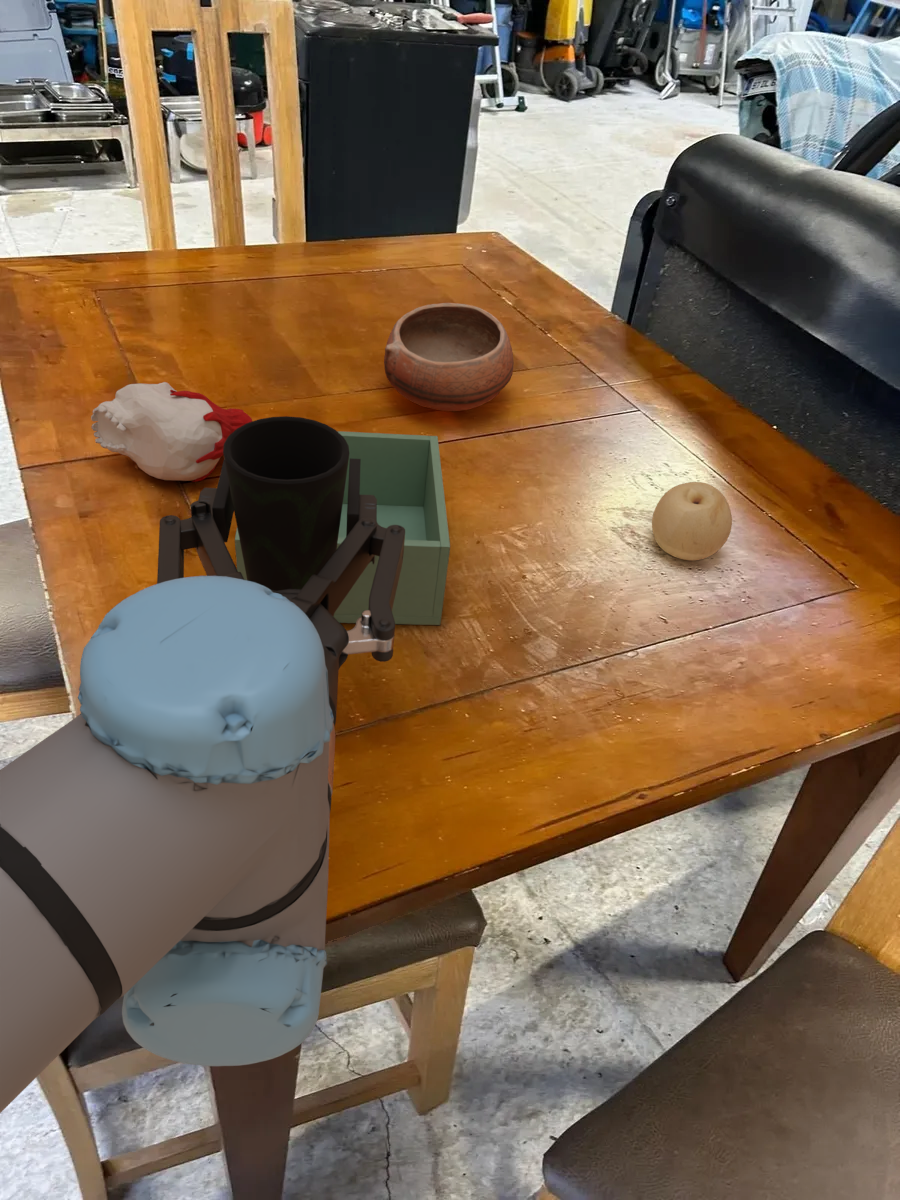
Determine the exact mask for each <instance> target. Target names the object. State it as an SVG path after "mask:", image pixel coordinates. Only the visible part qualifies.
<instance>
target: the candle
mask: <svg viewBox="0 0 900 1200" xmlns="http://www.w3.org/2000/svg"><path fill="white" fill-rule="evenodd" d="M90 420H91V422H94V423H92V425H91V430H92V432H93V437H95V439H94V442H95V444H99V445H100V447H101V448H102V449H106V450H108V451H110V452H112V453H118V454H120V455H122V456H126V457H129V459H131V461H133V462H134V463H135V464H136V465H137V467H138V468H139V469H140V470H142V471H143V472H144V473H145V474H147V475H149V476H151V477H154V478H155V479H158V480H164V481H183V482H187V481H188V482H189V481H191V483H194V482H195V483H196V482H201V481H203V480H205V479H206V478H207V477H209V476H210V475H211V474H212V473H213V472H214V470H215V469H216V467H217V465H218V463H219V462H220V460H221V458H222V457H224V454H223V448H224V443H225V441H226V439H227V438H228V436H229V435H230V434H232V433H233V432H234V431H235V430H236V429H237V428H239V427H241V426H243V425H245V424H247V423H249V422H252V421H253V418H252V417H251V416H250V415H249V414H248V413H246V412H245V410H243V409H241V408H232V407H231V408H227V409H226V408H223V407H221V406H219V405H217V404H216V403H215V402H214V401H212V400H210V398H209V397H208V396H206V395H205V394H203V393H200V392H193V391H190V390H178V391H177V390H175V388H173V387H172V386H171V385H170V383H168V382H166V381H163V382H159V383H131V384H130V383H129V384H127V385H125V386H123V387H122V388H119V389H118V390H116V392H115V398H113V399H112V400H108V401H107V400H106V401H103V402H101V403H99V404H98V406H96V407H95V408H93V410H92V415H91V416H90Z"/></svg>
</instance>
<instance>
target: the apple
mask: <svg viewBox="0 0 900 1200" xmlns="http://www.w3.org/2000/svg"><path fill="white" fill-rule="evenodd" d="M732 526H733V516H732V511H731V507H730V505H729V502H728V500H727V498H726V497H725V495H724V494H723V493H722V492H721V491H720V490H719V489H718V488H716V487H715V486H713V485H712V484H709V483H706V482H701V481H691V482H683V483H680V484H678V485H677V484H676V485H675V486H673V487H671V488H670V489H668V490H667V491H666V492H665V493H664V494H663V495H662V496H661V497H660V499H659V500H658V502H657V504H656V506H655V508H654V511H653V513H652V519H651V530H652V534H653V537H654V540H655V541H656V543H657V545H658V547H660V549H662V551H664V553H666V554H668V555H670V556H672V557H673V558H677V559H679V560H684V561H698V560H699V561H700V560H704V559H707V558H709V557H711V556H712V555H715V554H716V553H717V552H718V551H720V550H721V548H723V546H725V544H726V543H727V541H728V539H729V537H730V534H731V531H732Z"/></svg>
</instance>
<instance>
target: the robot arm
mask: <svg viewBox="0 0 900 1200" xmlns="http://www.w3.org/2000/svg"><path fill="white" fill-rule="evenodd" d="M360 464H361V459H353V458H350V463H349V483H348V503H347V532H346V538H345V539H344V540H343V542H342V543H341V544H340V546H339V547H338V548H337V550H336V551H335V552H334V554H333V555H332V556H331V558H330V559H329V560H328V562H327V563H326V564H325V566H324V567H323V568H322V570H321V571H320V572H319V573H318V575H312V576H311V577H310V579H309V580H308V581H307V583H306V584H305V585H304V587H303V588H302V589H287V590H279V591H274V590H270V589H269V588H267V587H265V586H263V585H260V584H258V583H255V582H251V581H247V580H244V578H243V576H242V574H241V572H238V571H237V565H236V564H235V562H234V560H233V558H232V556H231V554H230V551H229V549H228V547H227V545H226V543H228V541H229V536H230V531H231V527H232V522H233V517H234V514H235V513H234V507H233V502H232V497H231V491H230V486H229V481H228V476H227V470H226V465H225V460H224V459H223V461H222V465H221V470H220V473H219V478H218V482H217V486H216V487H203V488H202V490H201V491H200V492H199V496H198V499H197V500H194V501H193V502H192V503H191V504H190V514H191V517H188V518H184V519H180V517H179V516H177V515H173V514H169V515H165V516H163V517H161V518H160V520H159V529H158V530H159V531H158V553H157V575H156V577H157V578H156V584H153V585H150V586H148V587H145V588H143V589H141V590H138V591H137V592H135V593H133V594H131V595H129V596H127V597H126V598H124V599H123V600H121V601H120V602H118V603H117V604H116V605H114V607H112V608H111V609H110V610H109V611H108V612H107V613H106V614H105V615H104V617H103V619H102V621H101V622H100V623H99V624H98V628H96V630H95V631H94V633H93V634H92V635H91V637H90V638H89V640H88V642H87V643H86V644H85V645H84V647H83V650H82V654H81V658H80V665H79V678H80V684H79V687H78V694H77V695H78V696H77V700H78V701H79V704H80V707H79V712H80V714H78V715H77V716H76V717H74V718H73V719H71V720H70V721H69V722H67V723H66V724H65V725H63V726H61V727H59V729H57V730H55V731H54V732H53V733H51V734H50V735H48V736H47V737H45V738H44V739H42V740H41V741H40V742H39V743H37V744H35V745H34V746H32V747H31V748H29V749H28V750H27V751H25V752H24V753H22V754H21V755H19V756H18V757H17V758H15V759H13V760H12V761H10V762H9V763H8V764H6V765H5V766H4V767H2V768H0V1114H2V1112H3V1111H4V1110H5V1109H6V1108H7V1107H8V1106H10V1104H11V1103H12V1102H13V1101H15V1100H16V1099H17V1097H19V1095H20V1094H21V1093H22V1092H24V1090H25V1089H26V1088H28V1086H30V1084H31V1083H32V1082H34V1080H35V1079H36V1078H37V1077H38V1076H39V1075H40V1074H41V1073H42V1072H43V1071H44V1070H46V1068H47V1067H48V1066H49V1065H50V1064H51V1063H53V1062H54V1061H55V1059H57V1058H58V1057H59V1055H60V1054H62V1053H63V1052H64V1051H65V1049H66V1048H68V1046H70V1045H71V1043H73V1041H74V1040H75V1039H76V1038H78V1036H79V1035H80V1034H82V1033H83V1032H84V1030H86V1028H88V1026H90V1025H91V1024H92V1023H93V1022H94V1021H95V1020H97V1019H98V1017H101V1016H102V1015H104V1013H105V1012H106V1011H108V1010H109V1009H110V1008H111V1006H112V1005H113V1004H115V1003H116V1001H118V1000H120V999H122V998H123V999H122V1007H121V1015H122V1016H121V1018H122V1023H123V1026H124V1028H125V1030H126V1032H127V1034H128V1035H129V1036H130V1038H132V1040H133V1041H134V1042H135V1043H136V1044H138V1045H139V1046H140V1047H141V1048H143V1049H145V1050H146V1051H147V1052H149V1053H151V1054H153V1055H155V1056H158V1057H160V1058H163V1059H165V1060H169V1061H173V1062H177V1063H182V1064H186V1065H193V1066H201V1067H234V1066H235V1067H236V1066H240V1067H241V1066H247V1065H254V1064H257V1063H262V1062H266V1061H269V1060H273V1059H276V1058H278V1057H282V1056H283V1055H285V1054H287V1053H289V1052H291V1051H293V1050H294V1049H296V1048H297V1047H299V1046H300V1045H301V1044H302V1043H304V1041H305V1040H306V1039H307V1038H308V1037H309V1036H310V1035H311V1034H312V1032H313V1031H314V1029H315V1027H316V1024H317V1022H318V1019H319V1016H320V1015H319V1014H320V1007H321V1006H320V1005H321V996H322V987H323V977H324V968H325V967H326V966H327V965H328V961H327V960H328V959H327V958H328V957H327V955H328V953H327V950H326V932H327V931H326V930H327V914H328V913H327V912H328V911H327V909H328V890H329V863H330V862H329V861H330V823H331V822H330V819H331V817H330V815H331V810H332V796H333V791H334V790H333V789H334V771H335V755H336V754H335V752H336V750H335V749H336V729H335V726H336V722H337V711H338V709H337V708H338V693H339V692H338V691H339V690H338V689H339V686H338V685H339V670H340V668H341V667H342V665H343V664H344V663H345V662H346V661H347V659H348V656H349V655H356V654H364V653H371V656H372V658H373V659H374V660H376V661H377V662H381V663H382V662H384V663H385V662H389V661H390V660H392V658H393V657H394V646H395V645H394V644H395V633H396V632H395V631H396V624H395V621H394V617H393V614H392V608H393V604H394V599H395V595H396V590H397V586H398V581H399V577H400V572H401V568H402V563H403V554H404V542H405V529H404V527H402V526H400V525H390V526H389V527H387V528H384V527H381V526H380V525H379V524H378V523H377V499H376V498H375V496H374V495H360ZM191 549H195V551H196V553H197V556H198V558H199V561H200V563H201V566H202V568H203V570H204V572H205V574H206V575H195V576H187V577H185V550H191ZM375 555H376V556H379V560H378V564H377V568H376V572H375V576H374V580H373V584H372V588H371V591H370V596H369V607H368V610H365V611H363V612H362V616H361V617H359V618H358V619H357V620H356V623H355V625H354V627H352V629H349V630H348V629H346V628H345V627H344V625H342V623H339V622H338V621H337V620H336V619H335V618H334V617H333V616H334V613H335V611H336V610H337V609H338V607H339V606H340V604H341V603H342V601H343V600H344V598H345V597H346V596H347V594H348V593H349V591H350V590H351V588H352V587H353V586H354V584H355V583H356V581H357V580H358V578H359V577H360V575H361V574H362V573H363V571H364V570H365V568H366V567H367V565H368V564H369V563H370V562H371V561H372V562H373V563H372V564H374V563H375Z"/></svg>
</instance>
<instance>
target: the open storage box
mask: <svg viewBox="0 0 900 1200" xmlns="http://www.w3.org/2000/svg"><path fill="white" fill-rule="evenodd" d="M336 431H337V432H338V433H340V434H341V435H342V436H343V437H344V438H345V440H346V442H347V444H348V445H349V461H348V468H347V475H346V483H345V490H344V498H343V505H342V512H341V520H340V527H339V535H338V542H337V548H338V547H339V546H340V544H341V543H342V542H343V540H344V539H345V538H346V532H347V503H348V483H349V463H350V458H353V459H361V464H360V495H374V496H375V498H376V499H377V523H378V524H379V525H380V526H381V527H384V528H387V527H389V526H390V525H400V526H402V527H404V529H405V542H404V554H403V563H402V568H401V572H400V577H399V581H398V586H397V590H396V595H395V599H394V604H393V608H392V614H393V617H394V621H395V625H415V626H416V625H419V626H441V624H442V616H443V607H444V600H445V592H446V584H447V576H448V568H449V559H450V551H451V541H450V533H449V524H448V516H447V507H446V497H445V490H444V489H445V488H444V480H443V473H442V472H443V471H442V464H441V463H442V461H441V455H440V454H441V453H440V445H439V437H438V435H425V434H424V435H423V434H422V435H421V434H404V433H403V434H401V433H383V432H381V433H380V432H361V431H360V432H359V431H342V430H341V431H340V430H336ZM234 546H235V548H234V549H235V558H236V559H235V560H236V569H237V571H238V572H241V574H242V576H243V578H244V580H247V576H246V571H245V565H244V560H243V555H242V549H241V544H240V539H239V534H238V528H237V527H236V531H235V535H234ZM336 550H337V549H336ZM378 560H379V556H376V555H375V563H374V564H372V563H373V562H372V561H371V562H370V563H369V564H368V565H367V567H366V568H365V570H364V571H363V573H362V574H361V575H360V577H359V578H358V580H357V581H356V583H355V584H354V586H353V587H352V588H351V590H350V591H349V593H348V594H347V596H346V597H345V598H344V600H343V601H342V603H341V604H340V606H339V607H338V609H337V610H336V611H335V613H334V616H333V617H334V618H335V619H336V620H337V621H338V622H339V623H340V624H356V620H357V619H358V618H359V617H361V616H362V612H363V611H365V610H368V607H369V596H370V591H371V588H372V584H373V580H374V576H375V572H376V568H377V564H378Z"/></svg>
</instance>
